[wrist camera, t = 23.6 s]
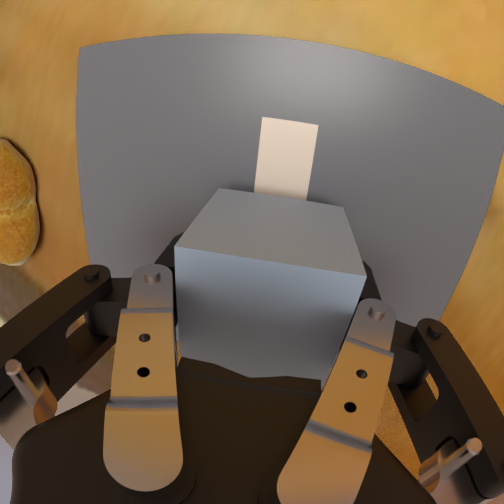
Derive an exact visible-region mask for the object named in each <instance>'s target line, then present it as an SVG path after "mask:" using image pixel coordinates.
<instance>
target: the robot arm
mask: <svg viewBox="0 0 504 504" xmlns="http://www.w3.org/2000/svg"><path fill="white" fill-rule="evenodd" d="M183 234H184V232H183V233H181V234H179V235H177V236H175V237H174V238H173V239H172V240H171V242H170V243H169V245H168V246H167V247H166V248H165V250H164V251H163V252H162V253H161V255H160V256H159V257H158V259H157V260H156V261H155V263H154V264H147V265H143V266H141V267H139V268H137V269H136V270H135V271H134V272H133V274H132V277H130V278H111V273H110V270H109V268H107V267H106V266H104V265H99V264H93V265H88V266H85V267H82V268H81V269H79V270H77V271H76V272H75V273H73V274H72V275H70V276H69V277H67V278H66V279H65V280H63V281H62V282H60V283H59V284H57V285H56V286H55V287H53V288H52V289H50V290H49V291H48V292H46V293H45V294H44V295H42V296H41V297H39V298H38V299H37V300H35V301H34V302H33V303H31V304H30V305H29V306H27V307H26V308H25V309H23V310H22V311H21V312H20V313H18V314H17V315H16V316H14V317H13V318H12V319H11V320H9V321H8V322H7V323H5V324H4V325H3V326H2V327H0V434H1V436H2V437H3V438H4V439H5V440H6V442H7V443H8V444H9V445H10V446H11V447H12V448H13V449H14V453H13V458H12V477H13V480H12V495H11V501H10V504H485V503H487V502H489V501H491V500H493V499H494V498H496V497H498V496H499V495H501V494H503V493H504V416H503V414H502V413H501V411H500V409H499V407H498V406H497V404H496V402H495V400H494V399H493V397H492V395H491V394H490V392H489V390H488V389H487V387H486V385H485V384H484V382H483V380H482V379H481V377H480V376H479V374H478V373H477V371H476V369H475V368H474V366H473V365H472V363H471V362H470V360H469V359H468V357H467V356H466V354H465V353H464V351H463V350H462V348H461V347H460V345H459V344H458V342H457V341H456V340H455V338H454V337H453V335H452V334H451V332H450V331H449V330H448V328H447V327H446V326H445V325H444V324H442V323H441V322H439V321H437V320H435V319H431V318H423V319H421V320H420V321H419V322H418V324H417V325H416V327H414V326H411V325H408V324H405V323H402V322H400V321H398V320H396V313H395V311H394V310H393V308H392V307H391V306H390V305H388V304H387V303H385V302H383V301H382V300H381V297H380V294H379V291H378V288H377V285H376V282H375V279H374V277H373V273H372V270H371V268H370V267H369V266H368V265H367V264H366V263H365V262H364V261H362V263H363V266H364V269H365V272H366V275H367V278H366V281H365V283H364V286H363V289H362V292H361V295H360V297H359V300H358V303H357V306H356V308H355V311H354V314H353V316H352V319H351V321H350V324H349V326H348V329H347V331H346V334H345V336H344V339H343V341H342V344H341V346H340V348H339V354H338V356H337V358H336V361H335V363H334V365H333V368H332V370H331V372H330V374H329V377H328V379H327V381H326V383H325V385H324V388H323V390H321V380H319V379H309V378H301V377H293V376H276V377H256V378H251V377H247V376H244V375H241V374H239V373H236V372H234V371H231V370H229V369H226V368H224V367H222V366H219V365H217V364H214V363H209V362H204V361H200V360H195V359H191V358H186V357H181V359H180V362H179V364H178V355H177V339H176V326H177V324H178V315H177V300H176V281H175V255H174V246H175V244H176V243H177V242H178V240H179V239H180V238H181V236H182V235H183ZM83 314H84V317H85V321H86V322H85V323H84V324H82V325H81V326H80V327H79V328H78V329H77V330H75V331H74V332H73V333H72V334H71V335H70V336H69V337H67V338H66V332H67V329H68V327H69V326H70V325H71V324H72V323H73V322H74V321H76V320H77V319H78V318H79V317H80V316H82V315H83ZM115 343H116V348H115V356H114V364H113V374H112V384H111V389H110V390H108V391H106V392H104V393H102V394H100V395H98V396H96V397H94V398H92V399H90V400H88V401H86V402H84V403H82V404H80V405H78V406H76V407H74V408H72V409H70V410H68V411H66V412H64V413H62V414H59V415H57V416H55V413H56V410H57V402H58V401H59V400H60V399H61V398H62V397H63V396H64V394H66V392H67V391H68V390H69V389H70V388H71V387H72V386H73V385H74V384H75V383H76V382H77V381H78V380H79V379H80V378H81V377H82V376H83V375H84V374H85V373H86V372H87V371H88V370H89V369H90V368H91V367H92V366H93V365H94V364H95V363H96V362H97V361H98V360H99V359H100V358H101V357H102V356H103V355H104V354H105V353H106V352H107V351H108V350H109V349H110V348H111V347H112V346H113V345H114V344H115ZM429 373H430V374H431V376H432V378H433V379H434V381H435V383H436V385H437V387H438V390H439V396H438V400H436V398H435V396H434V394H433V392H432V390H431V389H430V387H429V385H428V383H427V381H426V377H427V376H428V374H429ZM387 385H388V387H389V389H390V391H391V393H392V396H393V398H394V400H395V402H396V405H397V407H398V409H399V412H400V414H401V416H402V419H403V421H404V423H405V426H406V428H407V430H408V433H409V435H410V438H411V440H412V442H413V445H414V447H415V450H416V452H417V455H418V457H419V460H420V462H421V466H420V469H419V478H418V479H417V480H416V478H415V477H414V476H413V475H412V474H411V473H410V472H409V471H408V470H407V469H406V468H405V467H404V465H403V464H402V463H401V462H400V461H399V460H398V459H397V458H396V457H395V456H394V455H393V453H392V452H391V451H390V450H389V449H388V448H387V447H386V446H385V445H384V443H383V442H382V441H381V440H380V439H379V438H378V437H377V436H376V435H375V430H376V427H377V423H378V420H379V416H380V413H381V409H382V405H383V401H384V397H385V393H386V389H387Z"/></svg>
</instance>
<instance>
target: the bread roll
mask: <svg viewBox="0 0 504 504" xmlns="http://www.w3.org/2000/svg"><path fill="white" fill-rule="evenodd" d="M35 198H36V185H35V178H34V174H33V171H32V168H31V166H30V164H29V163H28V162H27V160H26V159H25V158H24V157H23V156H22V155H21V154H20V153H19V152H18V151H17V150H16V149H15V148H14V147H13V146H12V145H11V144H10V142H8V141H7V140H5V139H1V138H0V263H2V264H7V265H10V266H13V265H14V266H15V265H21V264H23V263H25V262H26V261H27V260H28V259H29V258H30V256H31V254H32V252H33V251H34V249H35V247H36V244H37V241H38V237H39V233H40V223H39V213H38V208H37V204H36V199H35Z"/></svg>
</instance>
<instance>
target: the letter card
mask: <svg viewBox="0 0 504 504" xmlns="http://www.w3.org/2000/svg"><path fill="white" fill-rule="evenodd" d="M76 132H77V157H78V172H79V184H80V195H81V204H82V212H83V220H84V227H85V234H86V240H87V246H88V252H89V257H90V263H91V265H93V264H99V265H104V266H106V267H107V268H109V270H110V273H111V278H130V277H132V274H133V272H134V271H135V270H136V269H137V268H139V267H141V266H143V265H147V264H154V263H155V261H156V260H157V259H158V257H159V256H160V255H161V253H162V252H163V251H164V250H165V248H166V247H167V246H168V245H169V243H170V242H171V240H172V239H173V238H174V237H175V236H177V235H179V234H181V233H183V232H185V231H186V230H187V228H188V227H189V226H190V225H191V223H192V222H193V221H194V219H195V218H196V217H197V215H198V214H199V213H200V212H201V210H202V209H203V208H204V206H205V205H206V204H207V203H208V201H209V200H210V199H211V198H212V196H213V195H214V194H215V192H216V191H217V190H218V189H219V188H222V189H230V190H238V191H245V192H253V193H260V194H267V195H273V196H280V197H287V198H293V199H299V200H305V201H311V202H317V203H323V204H329V205H334V206H340V207H343V208H344V211H345V214H346V216H347V219H348V222H349V225H350V227H351V230H352V233H353V236H354V239H355V242H356V245H357V247H358V250H359V253H360V256H361V259H362V261H364V262H365V263H366V264H367V265H368V266H369V267H370V268H371V270H372V273H373V277H374V279H375V282H376V285H377V288H378V291H379V294H380V297H381V300H382V301H383V302H385V303H387V304H388V305H390V306H391V307H392V308H393V310H394V311H395V313H396V320H398V321H400V322H402V323H405V324H408V325H411V326H414V327H416V325H417V324H418V322H419V321H420V320H421V319H423V318H431V319H435V320H437V321H439V319H440V318H441V316H442V314H443V312H444V310H445V308H446V306H447V304H448V302H449V300H450V298H451V296H452V294H453V292H454V290H455V288H456V286H457V284H458V282H459V280H460V277H461V275H462V273H463V271H464V268H465V266H466V264H467V262H468V259H469V257H470V254H471V252H472V250H473V247H474V245H475V242H476V239H477V237H478V234H479V231H480V229H481V226H482V223H483V220H484V217H485V214H486V211H487V208H488V205H489V202H490V199H491V196H492V192H493V189H494V186H495V182H496V178H497V175H498V171H499V167H500V163H501V159H502V154H503V150H504V106H503V105H501V104H499V103H497V102H495V101H493V100H491V99H489V98H487V97H485V96H483V95H481V94H479V93H477V92H475V91H473V90H471V89H469V88H466V87H464V86H462V85H460V84H457V83H455V82H453V81H450V80H448V79H445V78H443V77H440V76H438V75H435V74H432V73H430V72H427V71H424V70H421V69H419V68H416V67H413V66H410V65H407V64H404V63H400V62H397V61H394V60H391V59H387V58H384V57H380V56H376V55H373V54H369V53H365V52H361V51H356V50H352V49H348V48H343V47H338V46H333V45H328V44H322V43H316V42H310V41H304V40H297V39H289V38H280V37H270V36H258V35H242V34H180V35H164V36H152V37H142V38H134V39H126V40H119V41H113V42H107V43H101V44H96V45H91V46H86V47H81V48H80V49H79V60H78V74H77V99H76ZM176 339H177V342H179V329H178V324H177V326H176ZM338 354H339V351H338V353H337V355H336V358H337V356H338ZM336 358H335V360H334V362H333V365H334V363H335V361H336ZM333 365H332V367H333Z"/></svg>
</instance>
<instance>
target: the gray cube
mask: <svg viewBox="0 0 504 504" xmlns="http://www.w3.org/2000/svg"><path fill="white" fill-rule="evenodd" d="M174 255H175V281H176V300H177V315H178V329H179V342H180V353H181V357H186V358H191V359H195V360H200V361H204V362H209V363H214V364H217V365H219V366H222V367H224V368H226V369H229V370H231V371H234V372H236V373H239V374H241V375H244V376H247V377H251V378H256V377H276V376H293V377H301V378H309V379H319V380H321V389H322V387H323V385H324V382H325V380H326V378H327V376H328V374H329V371H330V369H331V367H332V365H333V362H334V360H335V358H336V355H337V353H338V351H339V348H340V346H341V344H342V341H343V339H344V336H345V334H346V331H347V329H348V326H349V324H350V321H351V319H352V316H353V314H354V311H355V308H356V306H357V303H358V300H359V297H360V295H361V292H362V289H363V286H364V283H365V281H366V278H367V275H366V272H365V269H364V266H363V263H362V259H361V256H360V253H359V250H358V247H357V245H356V242H355V239H354V236H353V233H352V230H351V227H350V225H349V222H348V219H347V216H346V214H345V211H344V208H343V207H340V206H334V205H329V204H323V203H317V202H311V201H305V200H299V199H293V198H287V197H280V196H273V195H267V194H260V193H253V192H245V191H238V190H230V189H222V188H219V189H218V190H217V191H216V192H215V194H214V195H213V196H212V198H211V199H210V200H209V201H208V203H207V204H206V205H205V206H204V208H203V209H202V210H201V212H200V213H199V214H198V215H197V217H196V218H195V219H194V221H193V222H192V223H191V225H190V226H189V227H188V228H187V230H186V231H185V232H184V234H183V235H182V236H181V238H180V239H179V240H178V242H177V243H176V244H175V246H174Z"/></svg>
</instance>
